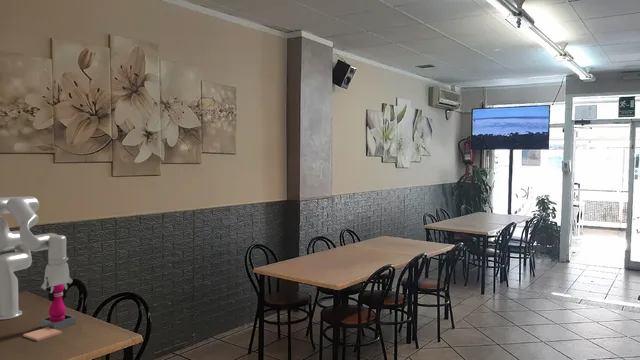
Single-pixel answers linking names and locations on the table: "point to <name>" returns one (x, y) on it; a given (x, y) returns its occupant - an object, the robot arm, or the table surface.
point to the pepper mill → (57, 305)
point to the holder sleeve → (60, 324)
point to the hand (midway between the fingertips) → (57, 298)
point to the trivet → (42, 334)
